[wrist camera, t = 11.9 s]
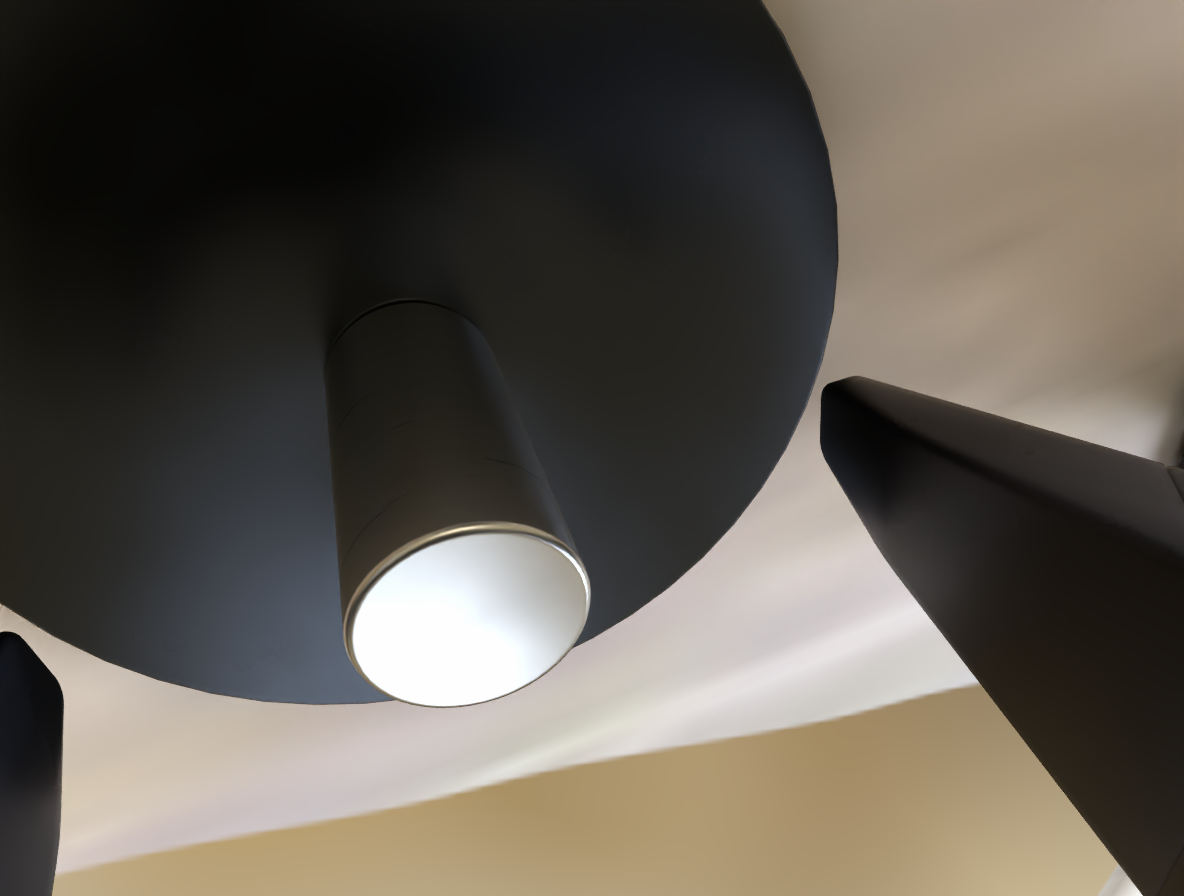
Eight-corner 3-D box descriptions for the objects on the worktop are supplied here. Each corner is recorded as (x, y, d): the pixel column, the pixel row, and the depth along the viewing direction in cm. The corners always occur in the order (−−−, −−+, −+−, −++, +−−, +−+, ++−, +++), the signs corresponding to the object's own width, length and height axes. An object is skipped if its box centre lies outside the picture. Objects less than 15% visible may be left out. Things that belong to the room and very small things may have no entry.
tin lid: (811, -309, 10) (1315, -490, 5) (802, 534, 18) (991, 776, 13) (-514, -94, 8) (-1826, -47, 3) (151, 749, 16) (92, 1130, 11)
